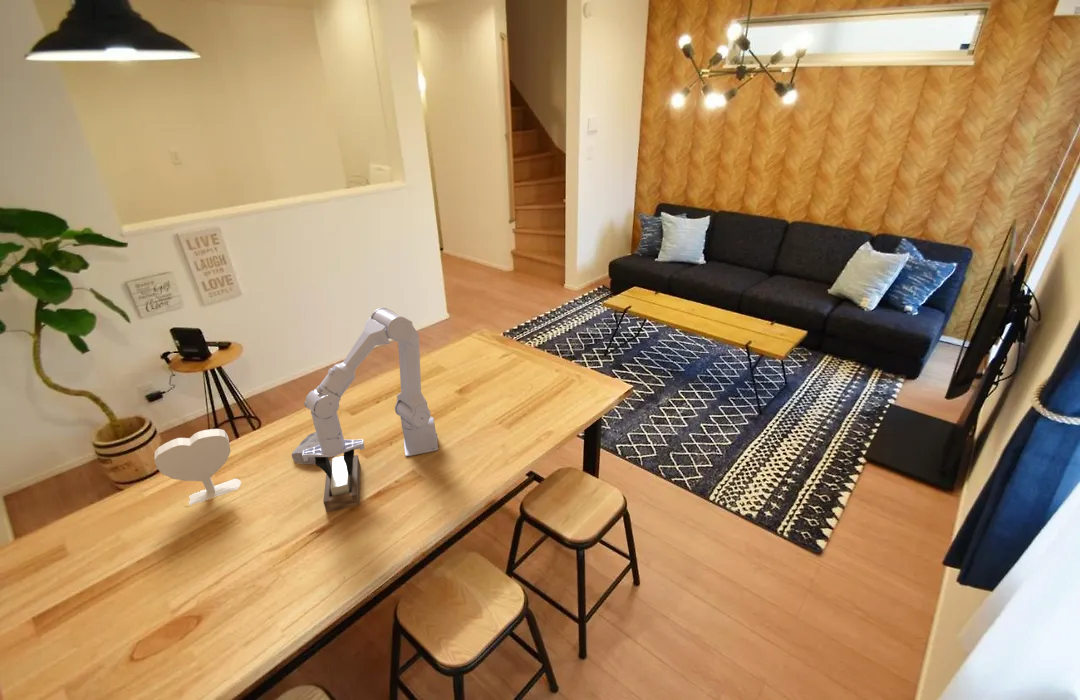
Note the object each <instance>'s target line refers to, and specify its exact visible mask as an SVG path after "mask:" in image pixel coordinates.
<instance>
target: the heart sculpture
mask: <svg viewBox="0 0 1080 700" xmlns="http://www.w3.org/2000/svg"><path fill="white" fill-rule="evenodd" d="M230 454H231V444H230V438H229V435H228V434H227V432H226V431H225V429H220V428H211V429H203V430H200V431H197V432H195V433H194V434H192V435H191V436H190V437H176V438H173V439H171V440H169V441H167V442H165V443H163V444H162V445H160V446H159V447H157V449H155V451H154V456H153V457H154V464H155V467H156V469H157V470H158V471H159V472H160V473H161V474H162V475H164V476H166V477H168V478H171V479H172V480H179V481H185V482H202V484H203V486H204V489H205V490H204V489H201V490H199V491H200V492H199V491H196V492H197V493H196V492H194V494H193V493H191V494H192V495H190V494H189V495H190V496H189V498H190V501H188V502H189V505H192V504H195V503H198V502H200V503H199V504H201V503H203V501H204V502H206V501H205V500H207V501H209V500H211V499H210V498H212V499H214V498H213V497H215V498H217V497H216V496H218V497H221V496H222V495H226V494H228V493H231V492H233V491H237V490H239V488H240V486H241V484H242V481H241V480H240V479H238V478H233V479H230V480H227V481H225V482H221V483H219V484H216V485H215V484H214V482H213V480H212V477H213V476H214V475H215V474H216V473H217V472H218V471H219V470H221V468H222V467H223V466H224V465H225V464H226V463H227V461H228V459H229V457H230ZM208 499H209V500H208Z"/></svg>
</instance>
